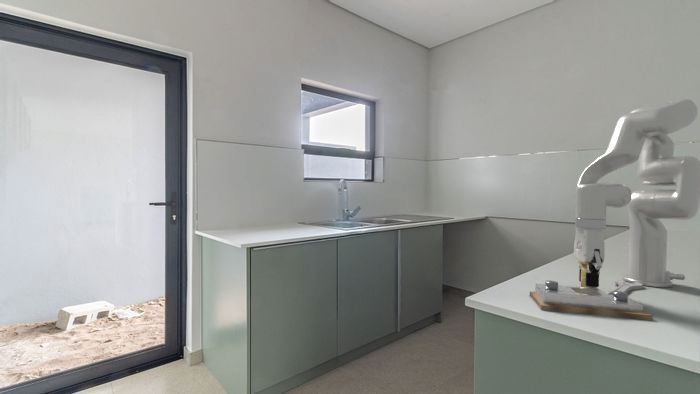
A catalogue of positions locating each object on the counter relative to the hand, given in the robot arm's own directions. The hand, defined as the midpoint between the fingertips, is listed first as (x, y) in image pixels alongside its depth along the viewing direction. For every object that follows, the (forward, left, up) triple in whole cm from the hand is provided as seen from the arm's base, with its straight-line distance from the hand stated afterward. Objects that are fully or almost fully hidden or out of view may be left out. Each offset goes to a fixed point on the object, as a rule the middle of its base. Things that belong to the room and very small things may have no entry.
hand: (588, 283), depth 100 cm
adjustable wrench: (-10, -5, -3) cm, 12 cm away
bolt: (0, 0, -3) cm, 3 cm away
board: (+6, +14, -3) cm, 15 cm away
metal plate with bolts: (+6, +14, -2) cm, 15 cm away
